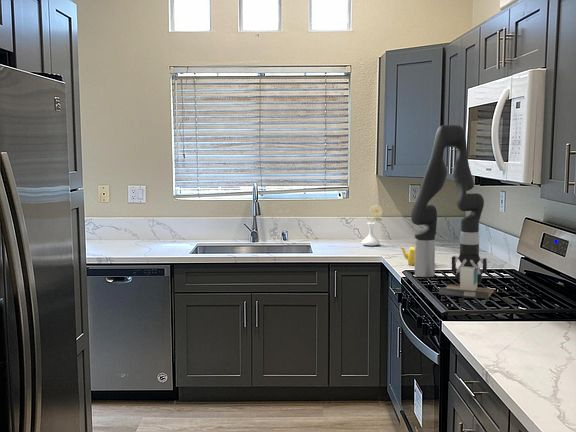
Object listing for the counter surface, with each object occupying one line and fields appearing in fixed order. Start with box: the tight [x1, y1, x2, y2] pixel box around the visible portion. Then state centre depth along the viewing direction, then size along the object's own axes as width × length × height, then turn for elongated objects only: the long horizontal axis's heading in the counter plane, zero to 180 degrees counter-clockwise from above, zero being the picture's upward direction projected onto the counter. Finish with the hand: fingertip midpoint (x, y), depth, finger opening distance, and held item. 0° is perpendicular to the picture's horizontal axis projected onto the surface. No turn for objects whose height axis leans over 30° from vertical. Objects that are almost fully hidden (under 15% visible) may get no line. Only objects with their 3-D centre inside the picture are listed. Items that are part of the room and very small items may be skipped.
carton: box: [459, 266, 478, 291], centre depth 254 cm, size 5×10×10 cm, turn 153°
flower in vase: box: [361, 204, 384, 247], centre depth 379 cm, size 13×11×25 cm
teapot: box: [398, 246, 415, 267], centre depth 320 cm, size 15×14×10 cm
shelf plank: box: [438, 284, 496, 300], centre depth 253 cm, size 18×19×4 cm
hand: (468, 282), depth 255 cm, fingers open, 7 cm apart
